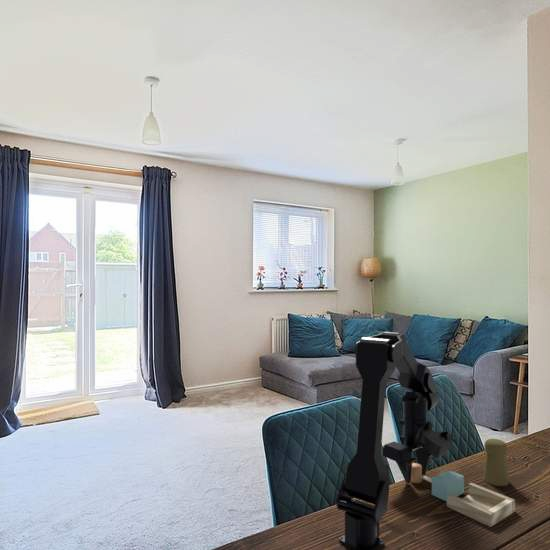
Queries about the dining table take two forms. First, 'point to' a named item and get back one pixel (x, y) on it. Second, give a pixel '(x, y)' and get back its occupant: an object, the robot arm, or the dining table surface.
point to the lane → (482, 505)
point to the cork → (495, 463)
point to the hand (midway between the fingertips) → (415, 479)
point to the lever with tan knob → (440, 482)
